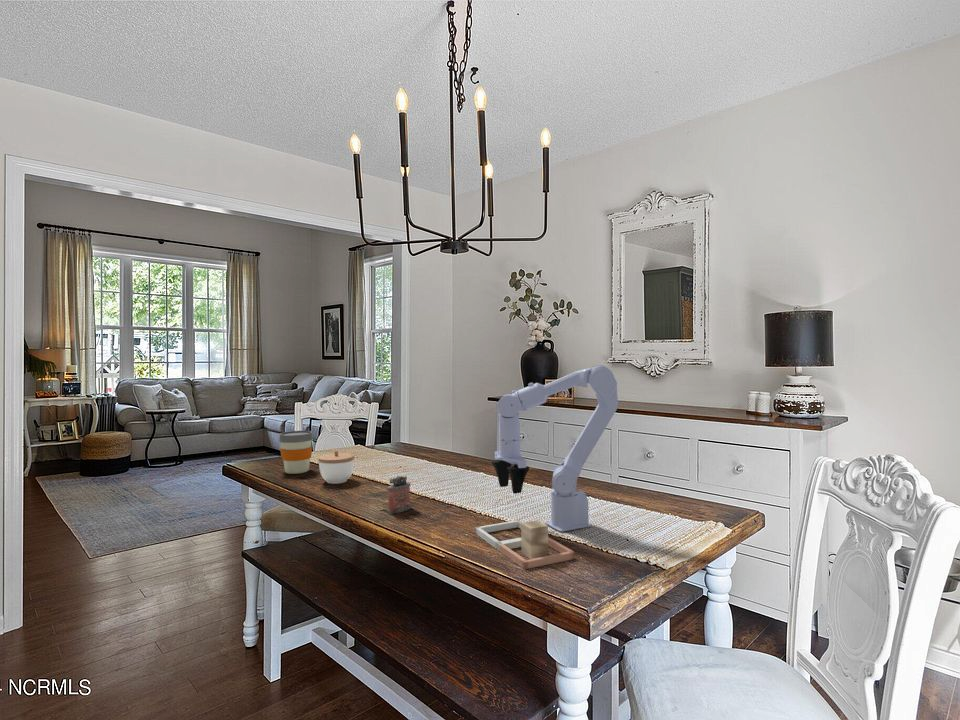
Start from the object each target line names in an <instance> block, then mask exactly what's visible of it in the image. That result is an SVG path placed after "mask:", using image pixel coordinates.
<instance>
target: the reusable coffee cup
mask: <svg viewBox="0 0 960 720" xmlns="http://www.w3.org/2000/svg"><path fill="white" fill-rule="evenodd" d="M312 440H313V432H312V431H311V430H292V431H283V432H281V433H279V440H278V441H279V444H280V457H281V460H282V461H283V468H284V472H285V473H286V474H294V475H295V474H303V473H306V472H308V471H310V462H311V461H310V460H311V458H312V453H313V445H312Z"/></svg>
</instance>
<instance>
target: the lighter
mask: <svg viewBox="0 0 960 720" xmlns="http://www.w3.org/2000/svg"><path fill="white" fill-rule="evenodd" d="M407 480H408V477H407V475H403V476H400V475H397V476H396V477H393V478H390V479H389V484H392V485H388V486H387V487H386V488H387V496H388V499H387V501H388V509H387V513H388V514H389V515H390V514H398V513H401V512H405V511H408V510H410V509H412V505H411V504H412V503H411V488H410V487H411V482H410V481H407Z"/></svg>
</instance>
